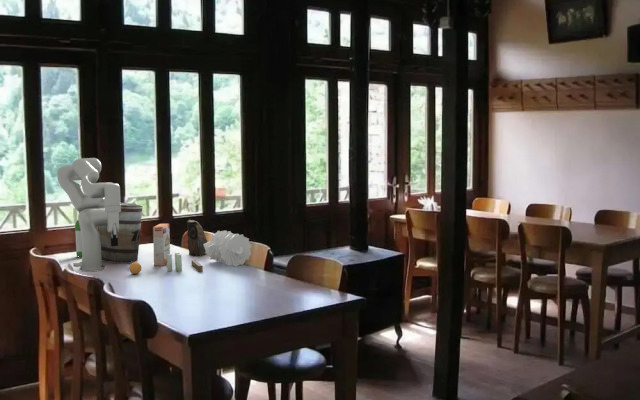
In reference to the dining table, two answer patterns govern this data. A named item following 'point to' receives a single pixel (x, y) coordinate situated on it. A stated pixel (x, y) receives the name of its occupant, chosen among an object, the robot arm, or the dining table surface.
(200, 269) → the brown wooden bar
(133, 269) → the ball
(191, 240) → the dark brown tall piece
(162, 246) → the cracker box
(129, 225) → the barrel
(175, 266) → the pin
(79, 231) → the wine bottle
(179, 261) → the pin
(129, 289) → the dining table surface
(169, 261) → the front pin
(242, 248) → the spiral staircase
